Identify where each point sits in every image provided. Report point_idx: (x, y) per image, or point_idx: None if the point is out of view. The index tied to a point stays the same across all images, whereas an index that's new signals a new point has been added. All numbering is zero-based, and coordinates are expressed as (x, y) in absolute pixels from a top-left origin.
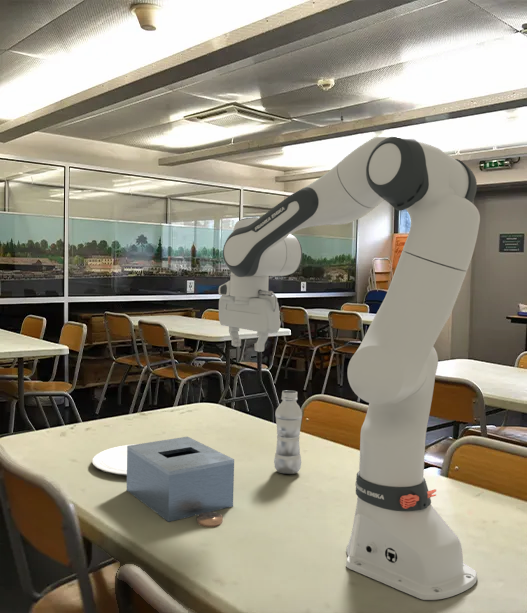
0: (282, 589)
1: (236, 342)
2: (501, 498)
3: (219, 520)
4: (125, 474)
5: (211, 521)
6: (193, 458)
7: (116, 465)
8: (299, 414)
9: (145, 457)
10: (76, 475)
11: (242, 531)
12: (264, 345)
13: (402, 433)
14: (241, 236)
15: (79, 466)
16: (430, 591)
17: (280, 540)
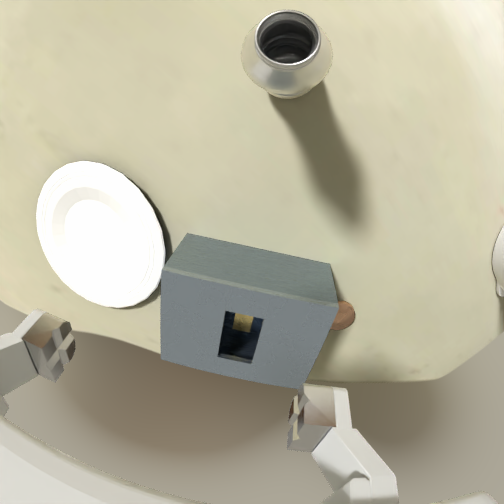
0: (460, 348)
1: (60, 358)
2: None
3: (354, 316)
4: (142, 300)
5: (348, 323)
6: (282, 345)
7: (98, 279)
8: (331, 51)
9: (225, 375)
10: (104, 318)
11: (386, 306)
12: (349, 415)
13: None
14: None
15: (76, 298)
16: None
17: (431, 294)
